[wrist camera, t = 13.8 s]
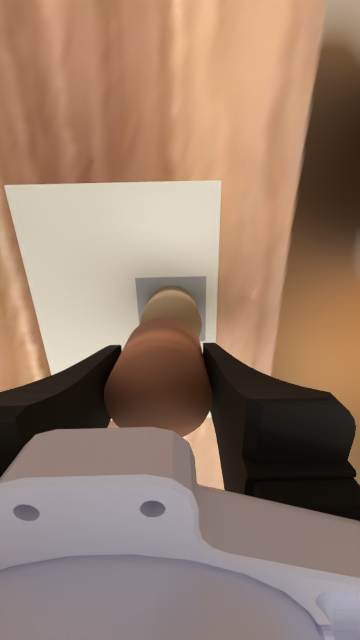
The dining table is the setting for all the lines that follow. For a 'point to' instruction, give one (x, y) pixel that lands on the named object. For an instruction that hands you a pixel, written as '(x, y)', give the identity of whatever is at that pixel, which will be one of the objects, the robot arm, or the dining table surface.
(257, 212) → the dining table surface
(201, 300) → the baseplate
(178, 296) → the maple drum
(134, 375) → the rust drum
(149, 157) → the dining table surface
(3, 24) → the dining table surface
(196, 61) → the dining table surface
